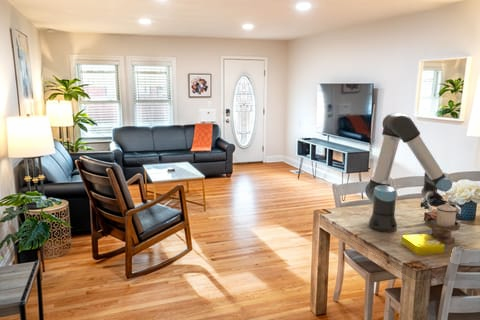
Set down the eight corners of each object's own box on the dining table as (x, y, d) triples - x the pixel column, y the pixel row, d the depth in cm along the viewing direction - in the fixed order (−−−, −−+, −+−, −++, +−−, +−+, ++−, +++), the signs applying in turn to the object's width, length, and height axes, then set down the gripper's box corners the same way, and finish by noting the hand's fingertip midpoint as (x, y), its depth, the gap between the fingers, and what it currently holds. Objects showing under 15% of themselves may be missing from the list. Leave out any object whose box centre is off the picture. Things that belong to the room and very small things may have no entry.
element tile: (426, 241, 196) (427, 232, 195) (445, 253, 182) (446, 244, 181) (399, 242, 194) (400, 234, 193) (417, 255, 180) (418, 246, 179)
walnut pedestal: (430, 243, 193) (431, 226, 191) (419, 231, 208) (421, 215, 206) (463, 244, 190) (465, 227, 189) (450, 232, 206) (452, 217, 204)
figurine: (442, 213, 237) (444, 190, 234) (443, 209, 245) (445, 187, 242) (455, 215, 233) (457, 192, 231) (456, 211, 241) (458, 188, 238)
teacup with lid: (454, 223, 199) (457, 202, 197) (455, 228, 191) (457, 206, 189) (429, 219, 205) (431, 199, 202) (429, 224, 197) (431, 203, 194)
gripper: (457, 206, 211) (471, 219, 191) (410, 203, 217) (418, 215, 197) (459, 193, 210) (473, 205, 190) (411, 191, 215) (420, 202, 195)
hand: (445, 210), depth 193 cm, fingers open, 13 cm apart
